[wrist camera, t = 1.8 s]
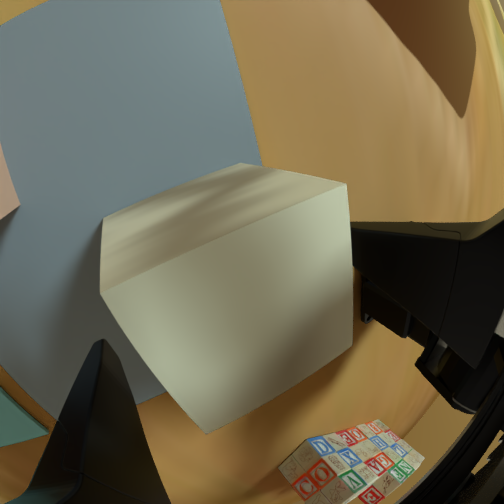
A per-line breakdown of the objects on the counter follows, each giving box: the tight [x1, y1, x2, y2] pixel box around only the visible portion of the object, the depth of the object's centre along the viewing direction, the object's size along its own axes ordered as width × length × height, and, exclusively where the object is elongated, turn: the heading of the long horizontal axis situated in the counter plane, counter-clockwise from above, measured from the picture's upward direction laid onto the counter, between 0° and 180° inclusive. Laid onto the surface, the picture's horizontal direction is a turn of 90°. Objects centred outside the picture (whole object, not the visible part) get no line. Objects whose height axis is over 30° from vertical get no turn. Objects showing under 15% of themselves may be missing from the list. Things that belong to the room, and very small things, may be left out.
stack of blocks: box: [278, 420, 424, 504], centre depth 27 cm, size 21×6×12 cm, turn 56°
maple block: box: [100, 163, 353, 434], centre depth 9 cm, size 6×6×6 cm
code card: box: [0, 0, 262, 421], centre depth 9 cm, size 16×20×1 cm
